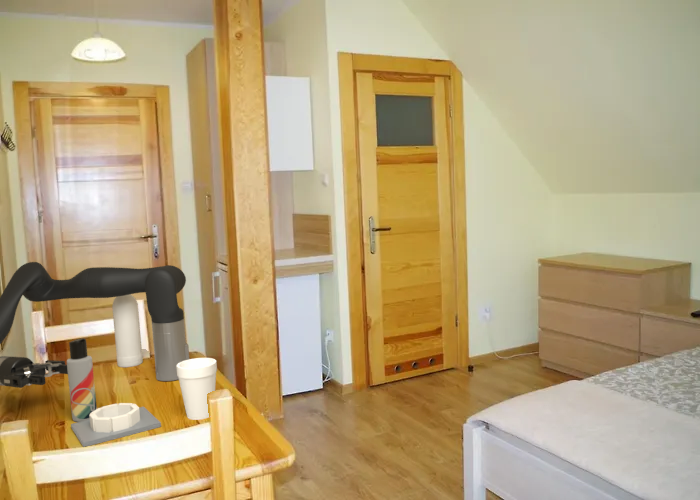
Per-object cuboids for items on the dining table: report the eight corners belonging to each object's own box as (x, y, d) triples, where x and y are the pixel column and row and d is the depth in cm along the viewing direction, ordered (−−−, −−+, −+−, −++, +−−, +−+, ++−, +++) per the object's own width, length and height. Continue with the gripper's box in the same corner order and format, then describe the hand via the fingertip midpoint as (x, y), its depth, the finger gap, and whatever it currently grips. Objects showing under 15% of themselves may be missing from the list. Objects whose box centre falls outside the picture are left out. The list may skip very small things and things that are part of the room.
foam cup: (184, 409, 151) (181, 359, 150) (222, 406, 152) (218, 356, 151) (177, 423, 142) (173, 370, 140) (217, 420, 143) (213, 367, 141)
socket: (143, 410, 152) (142, 395, 151) (161, 426, 140) (159, 410, 140) (71, 428, 142) (69, 411, 142) (83, 447, 131) (81, 429, 130)
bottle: (116, 363, 197) (107, 273, 194) (141, 359, 201) (133, 270, 198) (118, 369, 190) (110, 275, 187) (144, 364, 194) (136, 272, 191)
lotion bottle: (88, 422, 145) (80, 342, 143) (67, 421, 146) (59, 341, 144) (102, 413, 151) (94, 336, 149) (82, 413, 152) (74, 336, 150)
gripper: (34, 376, 162) (81, 380, 157) (-14, 394, 149) (35, 399, 143) (31, 349, 161) (78, 352, 156) (-17, 365, 148) (32, 369, 143)
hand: (57, 374), depth 150 cm, fingers open, 8 cm apart
